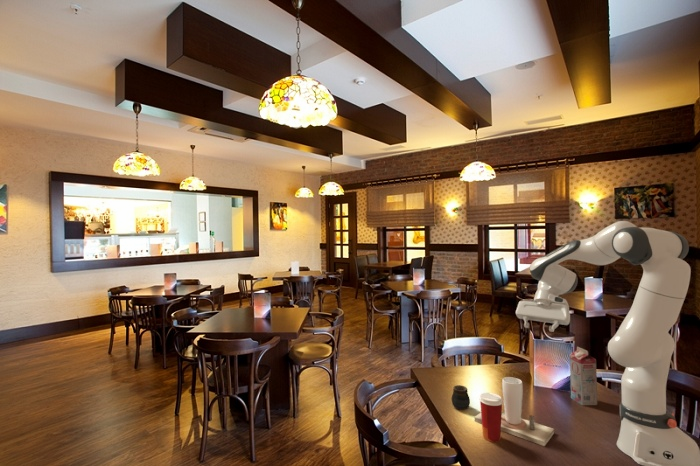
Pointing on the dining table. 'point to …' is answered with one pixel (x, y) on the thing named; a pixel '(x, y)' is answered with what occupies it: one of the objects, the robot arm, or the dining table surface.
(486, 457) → the dining table surface
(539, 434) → the pin board
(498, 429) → the paper cup
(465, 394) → the mate gourd
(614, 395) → the dining table surface
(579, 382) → the juice carton
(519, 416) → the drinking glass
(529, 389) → the dining table surface
